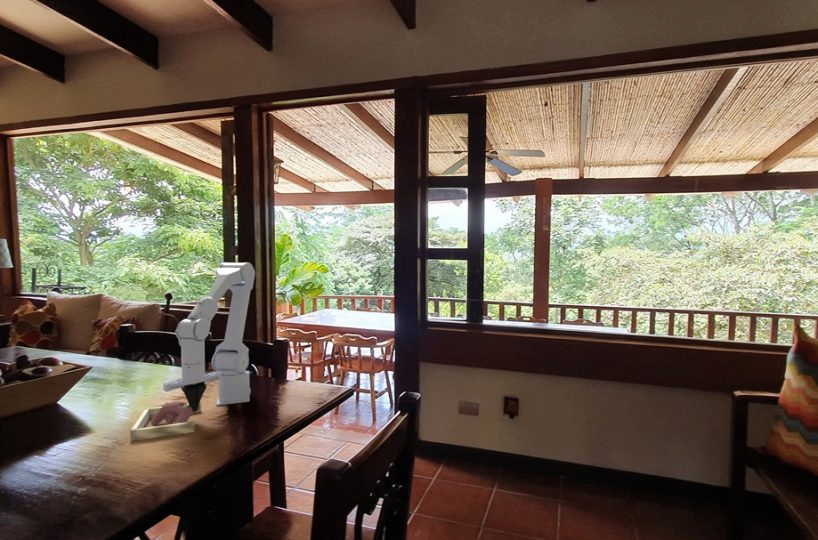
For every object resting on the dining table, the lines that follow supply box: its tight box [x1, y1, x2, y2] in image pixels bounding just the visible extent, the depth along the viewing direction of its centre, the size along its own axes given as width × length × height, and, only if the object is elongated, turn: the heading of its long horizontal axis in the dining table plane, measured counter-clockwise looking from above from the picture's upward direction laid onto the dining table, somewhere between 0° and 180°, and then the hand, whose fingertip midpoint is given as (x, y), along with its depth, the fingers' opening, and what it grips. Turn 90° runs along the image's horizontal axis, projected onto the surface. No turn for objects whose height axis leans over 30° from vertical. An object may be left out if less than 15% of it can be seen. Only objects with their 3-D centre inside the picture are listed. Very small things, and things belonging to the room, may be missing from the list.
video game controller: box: [150, 401, 193, 427], centre depth 110 cm, size 10×5×7 cm, turn 70°
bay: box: [129, 401, 202, 442], centre depth 110 cm, size 14×16×2 cm
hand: (194, 410), depth 112 cm, fingers closed
